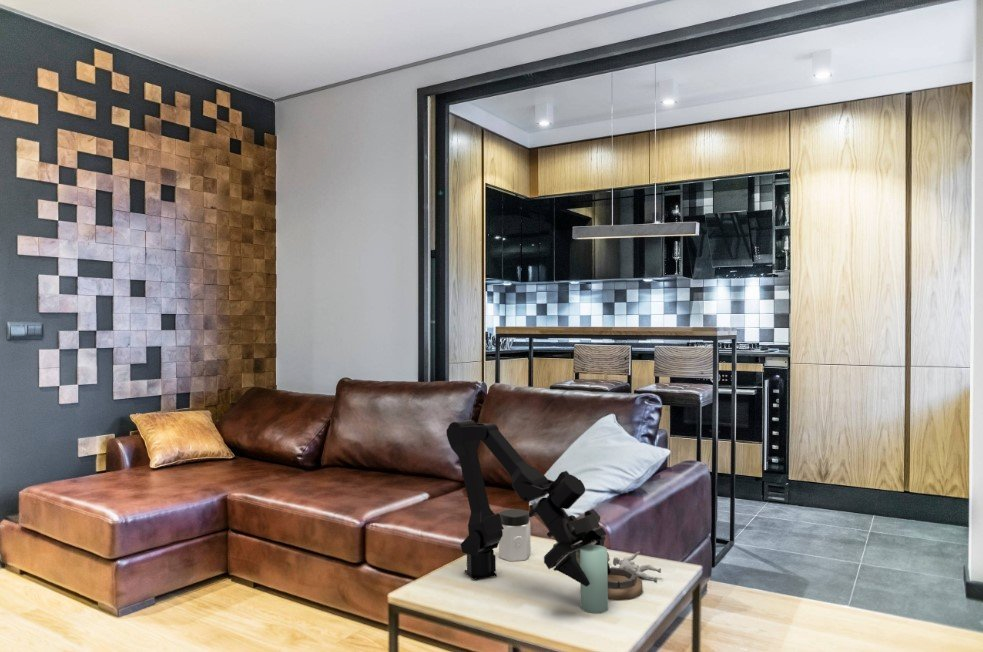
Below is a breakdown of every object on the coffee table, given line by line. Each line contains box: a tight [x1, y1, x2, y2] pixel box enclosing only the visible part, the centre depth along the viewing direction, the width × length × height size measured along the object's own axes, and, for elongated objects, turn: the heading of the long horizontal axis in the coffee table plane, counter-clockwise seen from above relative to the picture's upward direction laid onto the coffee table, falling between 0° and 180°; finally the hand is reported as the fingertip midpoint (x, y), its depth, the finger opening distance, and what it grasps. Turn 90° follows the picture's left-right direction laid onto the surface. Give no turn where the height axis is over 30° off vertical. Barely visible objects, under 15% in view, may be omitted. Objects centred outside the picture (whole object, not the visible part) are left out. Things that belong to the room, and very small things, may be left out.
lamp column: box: [579, 545, 609, 614], centre depth 148 cm, size 6×6×13 cm
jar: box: [498, 508, 532, 562], centre depth 183 cm, size 9×8×12 cm
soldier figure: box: [612, 551, 662, 582], centre depth 167 cm, size 8×5×12 cm
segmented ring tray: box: [608, 566, 643, 601], centre depth 158 cm, size 13×13×4 cm
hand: (599, 579), depth 147 cm, fingers open, 9 cm apart
